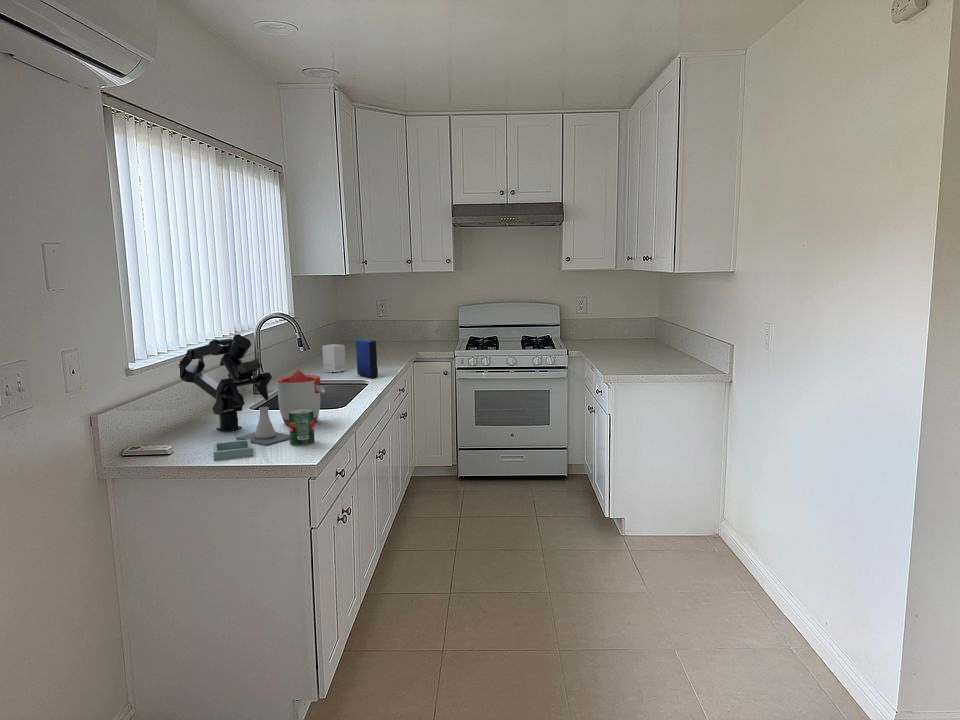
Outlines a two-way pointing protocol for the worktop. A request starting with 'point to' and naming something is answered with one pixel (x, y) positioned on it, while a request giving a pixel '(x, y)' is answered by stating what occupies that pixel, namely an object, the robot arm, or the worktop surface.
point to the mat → (267, 441)
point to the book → (366, 358)
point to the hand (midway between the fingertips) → (255, 402)
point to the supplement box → (333, 357)
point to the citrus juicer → (299, 394)
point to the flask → (264, 425)
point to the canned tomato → (301, 426)
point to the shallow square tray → (232, 449)
